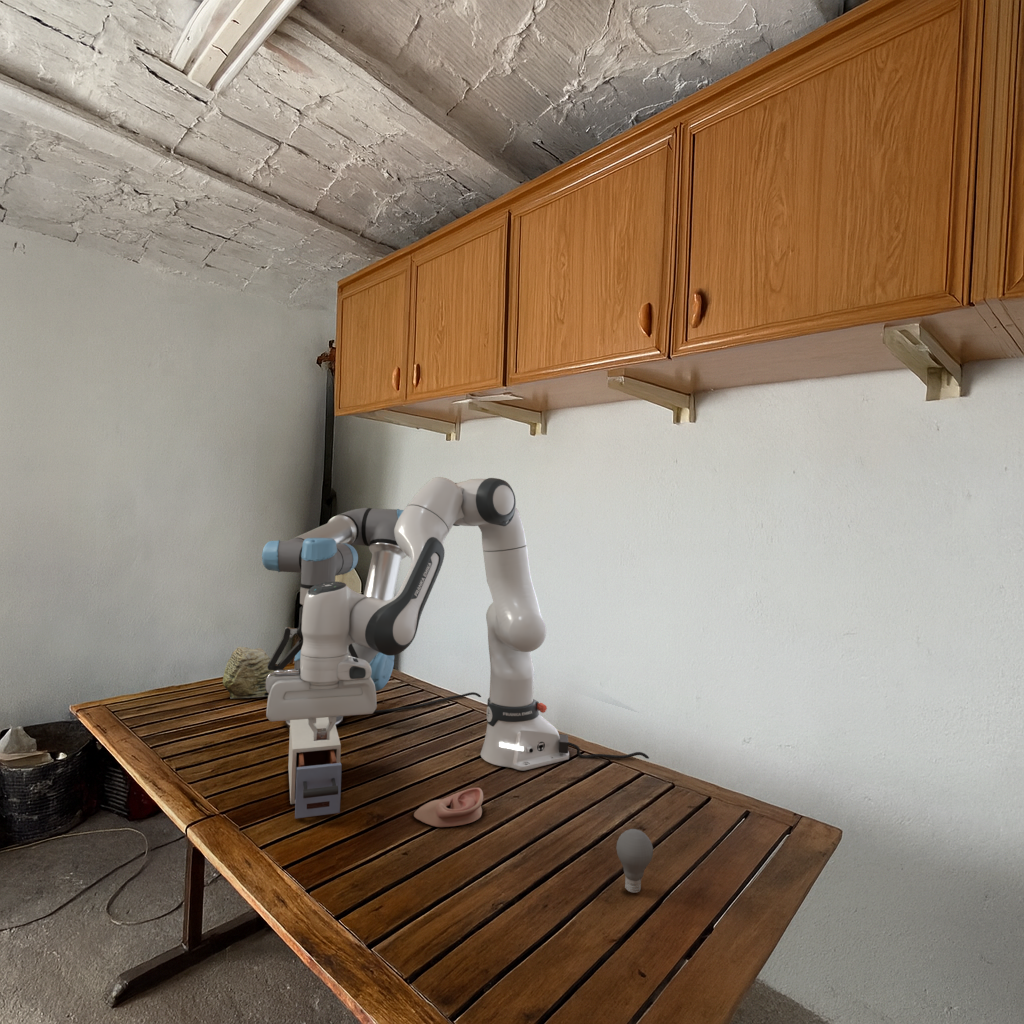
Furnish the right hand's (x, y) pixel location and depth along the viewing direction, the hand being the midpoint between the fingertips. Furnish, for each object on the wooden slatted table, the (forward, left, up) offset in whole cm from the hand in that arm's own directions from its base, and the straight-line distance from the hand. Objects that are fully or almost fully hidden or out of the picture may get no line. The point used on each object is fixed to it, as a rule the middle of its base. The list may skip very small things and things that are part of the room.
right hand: (321, 739), depth 121 cm
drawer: (0, -9, -16) cm, 18 cm away
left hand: (-1, -25, 0) cm, 25 cm away
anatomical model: (-25, +4, -17) cm, 31 cm away
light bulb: (-46, +38, -17) cm, 62 cm away
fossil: (+9, -87, -17) cm, 89 cm away
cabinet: (-1, -20, -17) cm, 26 cm away
